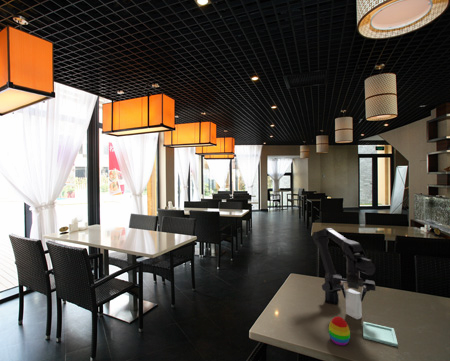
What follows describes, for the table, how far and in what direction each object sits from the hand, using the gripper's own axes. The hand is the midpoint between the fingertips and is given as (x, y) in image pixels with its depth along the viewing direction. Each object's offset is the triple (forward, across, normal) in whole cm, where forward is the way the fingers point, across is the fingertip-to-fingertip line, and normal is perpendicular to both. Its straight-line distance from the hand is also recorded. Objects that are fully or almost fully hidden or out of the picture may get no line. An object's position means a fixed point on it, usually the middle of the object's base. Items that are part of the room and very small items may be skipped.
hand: (353, 299), depth 123 cm
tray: (+8, +10, -12) cm, 18 cm away
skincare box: (+8, 0, 0) cm, 8 cm away
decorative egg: (+8, -5, -25) cm, 27 cm away
